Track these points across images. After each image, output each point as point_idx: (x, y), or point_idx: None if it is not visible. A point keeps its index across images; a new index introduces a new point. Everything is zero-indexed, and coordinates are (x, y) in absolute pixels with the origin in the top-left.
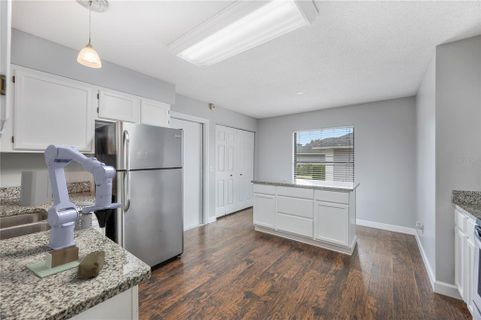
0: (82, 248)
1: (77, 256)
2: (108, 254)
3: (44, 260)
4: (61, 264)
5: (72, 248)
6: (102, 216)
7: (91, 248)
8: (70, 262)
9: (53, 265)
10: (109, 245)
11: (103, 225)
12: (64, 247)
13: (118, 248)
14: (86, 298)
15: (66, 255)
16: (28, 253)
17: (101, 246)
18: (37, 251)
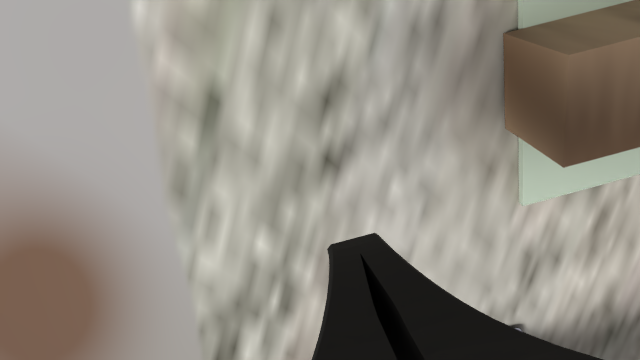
0: None
1: (528, 36)
2: (275, 13)
3: (631, 176)
4: (617, 7)
5: (610, 71)
6: (483, 343)
7: None
8: (558, 15)
9: None
10: (217, 235)
11: (366, 253)
12: (631, 147)
13: (162, 114)
14: None
15: (635, 22)
16: (613, 347)
17: (276, 247)
18: None
